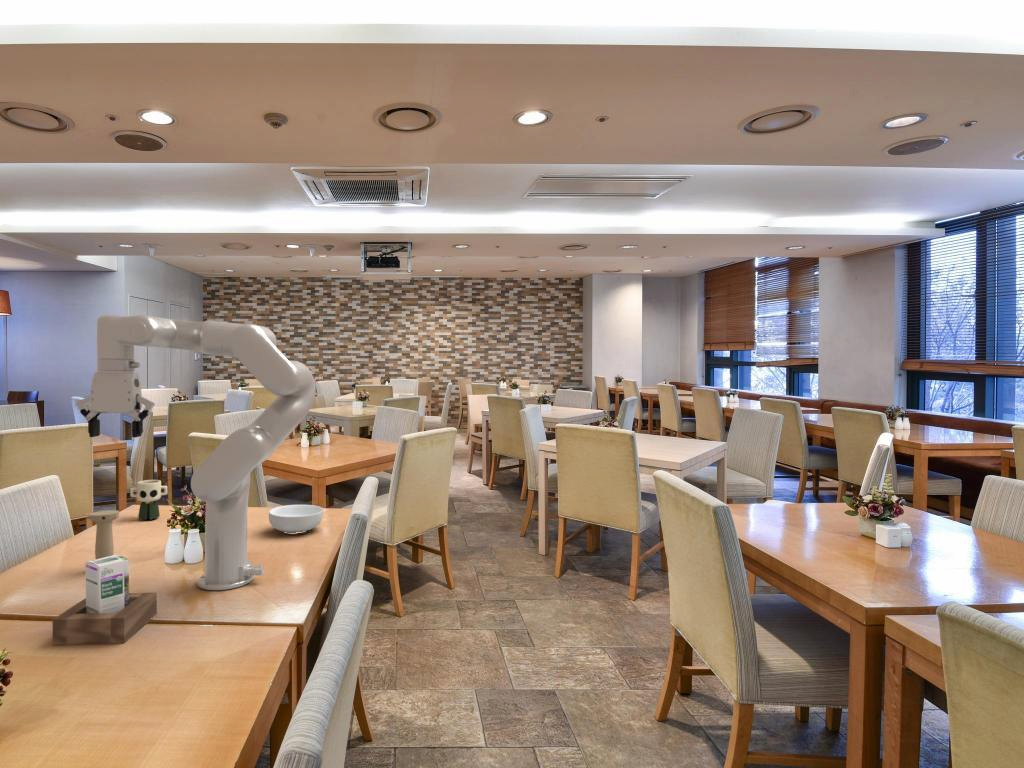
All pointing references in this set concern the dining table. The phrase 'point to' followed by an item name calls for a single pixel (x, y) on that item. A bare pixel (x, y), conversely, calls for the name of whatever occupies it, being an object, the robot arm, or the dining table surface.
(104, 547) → the handle
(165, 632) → the dining table surface
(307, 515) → the cereal bowl
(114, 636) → the socket
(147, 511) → the character mug
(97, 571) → the syrup box
